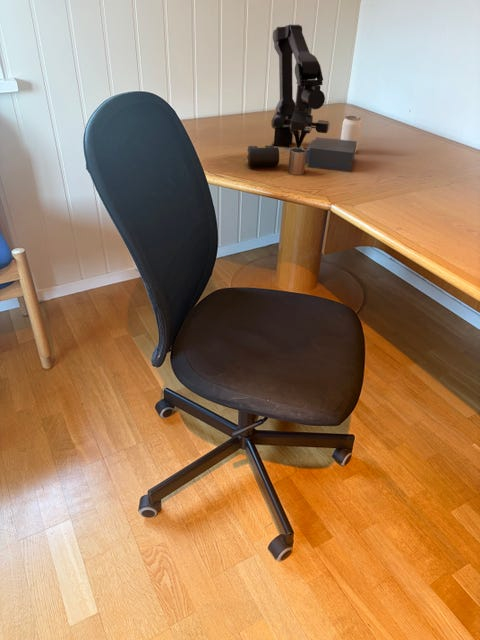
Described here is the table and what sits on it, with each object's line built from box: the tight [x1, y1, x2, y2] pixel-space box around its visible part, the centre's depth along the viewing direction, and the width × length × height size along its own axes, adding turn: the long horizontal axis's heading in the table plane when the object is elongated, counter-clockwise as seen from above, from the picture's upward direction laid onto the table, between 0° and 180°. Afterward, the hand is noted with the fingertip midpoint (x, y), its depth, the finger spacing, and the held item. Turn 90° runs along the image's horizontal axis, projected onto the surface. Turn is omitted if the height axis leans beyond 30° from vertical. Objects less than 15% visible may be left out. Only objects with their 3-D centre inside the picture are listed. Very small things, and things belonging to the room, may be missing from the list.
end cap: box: [246, 145, 280, 169], centre depth 165 cm, size 10×7×7 cm
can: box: [340, 115, 362, 153], centre depth 181 cm, size 6×6×12 cm
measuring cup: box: [280, 147, 307, 176], centre depth 162 cm, size 8×5×7 cm, turn 74°
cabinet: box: [307, 136, 357, 173], centre depth 171 cm, size 14×14×6 cm
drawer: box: [300, 139, 315, 165], centre depth 171 cm, size 17×13×5 cm
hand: (298, 149), depth 173 cm, fingers closed, pressing on drawer
